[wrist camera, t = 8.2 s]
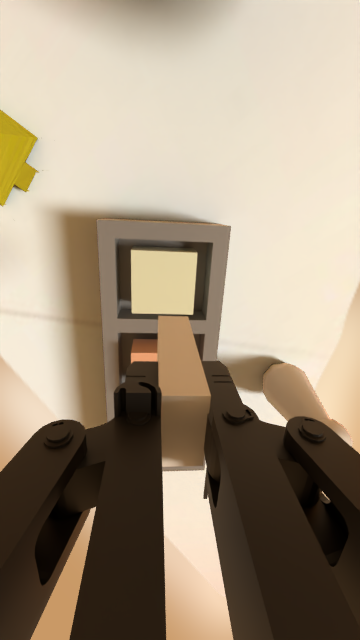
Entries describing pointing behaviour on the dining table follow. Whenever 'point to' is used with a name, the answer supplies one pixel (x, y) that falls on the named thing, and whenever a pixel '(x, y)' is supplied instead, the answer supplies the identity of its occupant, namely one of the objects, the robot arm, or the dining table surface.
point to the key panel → (127, 326)
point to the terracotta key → (144, 350)
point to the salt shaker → (297, 397)
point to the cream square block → (163, 280)
